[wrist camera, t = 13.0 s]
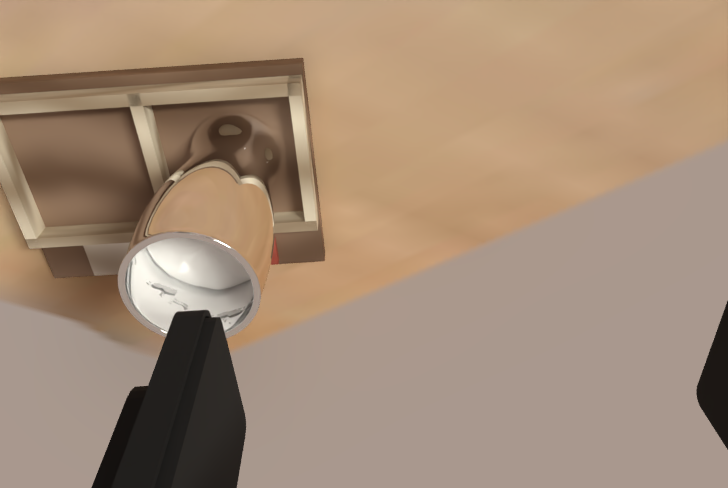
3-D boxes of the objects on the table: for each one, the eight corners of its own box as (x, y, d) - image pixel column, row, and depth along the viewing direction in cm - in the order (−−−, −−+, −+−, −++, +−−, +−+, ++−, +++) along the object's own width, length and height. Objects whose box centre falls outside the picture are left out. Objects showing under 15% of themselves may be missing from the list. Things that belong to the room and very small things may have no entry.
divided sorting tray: (-19, 79, 38) (-41, 93, 36) (303, 58, 38) (300, 71, 36) (60, 268, 47) (46, 290, 44) (324, 252, 46) (324, 272, 44)
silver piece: (269, 212, 43) (239, 362, 30) (173, 179, 41) (99, 323, 29) (303, 128, 40) (285, 258, 27) (199, 88, 38) (129, 207, 25)
